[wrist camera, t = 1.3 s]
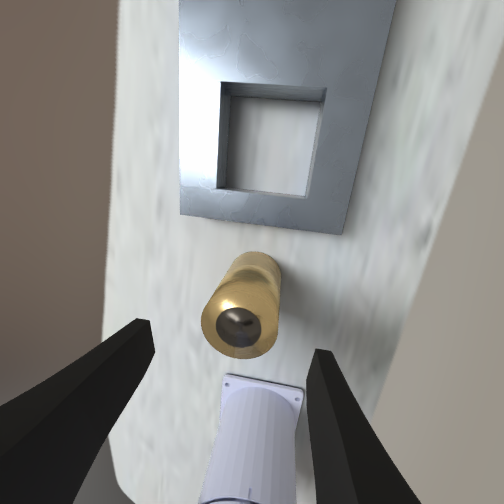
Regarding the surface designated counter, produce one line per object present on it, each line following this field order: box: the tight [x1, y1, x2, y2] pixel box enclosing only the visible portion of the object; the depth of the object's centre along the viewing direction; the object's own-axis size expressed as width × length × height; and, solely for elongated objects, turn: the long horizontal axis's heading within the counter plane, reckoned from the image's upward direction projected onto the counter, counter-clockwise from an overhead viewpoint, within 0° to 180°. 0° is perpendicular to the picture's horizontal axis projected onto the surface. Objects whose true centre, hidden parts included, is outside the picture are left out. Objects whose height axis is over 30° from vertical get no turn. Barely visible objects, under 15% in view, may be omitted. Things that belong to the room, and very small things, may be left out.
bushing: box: [201, 252, 281, 359], centre depth 16 cm, size 4×4×7 cm
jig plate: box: [179, 0, 396, 235], centre depth 12 cm, size 20×11×5 cm, turn 174°
